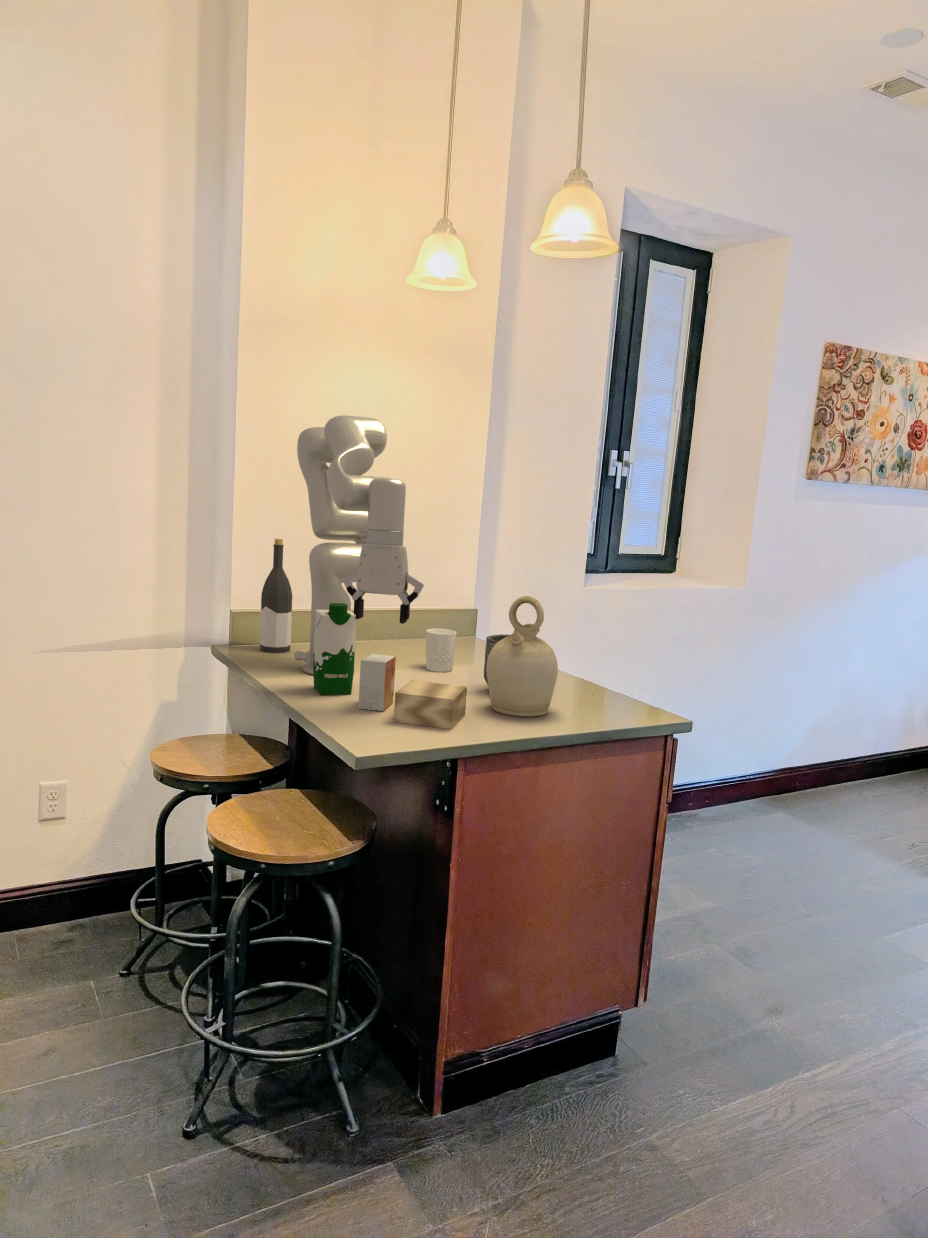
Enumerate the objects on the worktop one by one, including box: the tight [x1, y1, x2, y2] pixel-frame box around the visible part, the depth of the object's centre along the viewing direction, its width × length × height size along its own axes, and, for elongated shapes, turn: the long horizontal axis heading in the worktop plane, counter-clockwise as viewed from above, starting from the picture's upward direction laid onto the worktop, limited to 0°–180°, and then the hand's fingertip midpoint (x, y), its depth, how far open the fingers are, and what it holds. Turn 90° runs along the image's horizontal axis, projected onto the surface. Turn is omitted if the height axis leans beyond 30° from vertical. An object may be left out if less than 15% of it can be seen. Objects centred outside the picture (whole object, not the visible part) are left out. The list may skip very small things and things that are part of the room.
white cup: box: [425, 628, 457, 673], centre depth 227 cm, size 8×8×10 cm
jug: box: [486, 595, 559, 718], centre depth 190 cm, size 15×16×25 cm
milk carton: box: [312, 603, 357, 696], centre depth 196 cm, size 9×9×20 cm
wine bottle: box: [259, 538, 293, 654], centre depth 236 cm, size 8×8×30 cm
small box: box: [358, 653, 397, 712], centre depth 187 cm, size 8×6×10 cm
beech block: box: [393, 679, 468, 730], centre depth 180 cm, size 12×12×6 cm
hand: (381, 620), depth 185 cm, fingers open, 9 cm apart
